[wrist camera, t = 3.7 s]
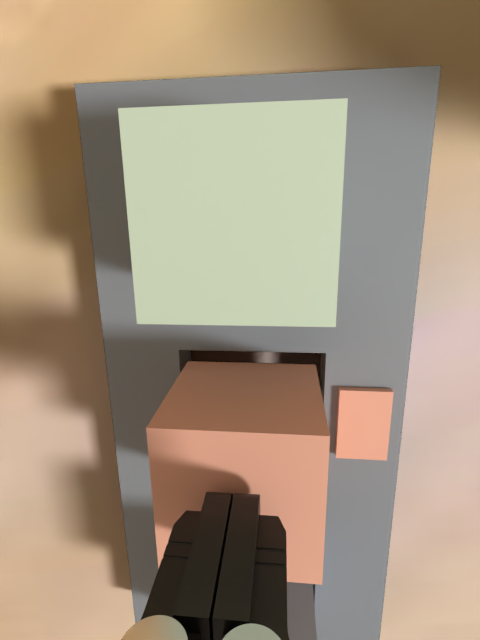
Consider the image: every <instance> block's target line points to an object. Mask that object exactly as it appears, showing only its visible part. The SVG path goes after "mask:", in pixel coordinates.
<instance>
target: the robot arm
mask: <svg viewBox="0 0 480 640" xmlns="http://www.w3.org/2000/svg"><path fill="white" fill-rule="evenodd" d="M286 550H287V549H286V530H285V528H284V526H283V524H282V522H281V520H280V518H279V516H268V515H260V494H243V493H234V496H233V493H223V492H206V495H205V498H204V502H203V505H202V509H201V511H188V510H186V511H185V512H184V513H183V515H182V516H181V517H180V518H179V519H178V520H177V521H176V522H175V524H174V525H173V528H172V531H171V534H170V537H169V540H168V544H167V546H166V549H165V552H164V554H163V559H162V560H161V563H160V566H159V569H158V572H157V575H156V578H155V581H154V584H153V586H152V589H151V592H150V595H149V598H148V601H147V604H146V607H145V610H144V613H143V615H142V617H141V620H140V621H139V622H137V623H136V624H135V625H133V626H132V627H131V628H130V629H129V630H128V631H127V632H126V634H125V635H124V636H123V638H122V640H290V639H289V635H288V628H287V553H286Z"/></svg>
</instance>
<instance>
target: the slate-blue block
mask: <svg viewBox="0 0 480 640" xmlns="http://www.w3.org/2000/svg"><path fill="white" fill-rule="evenodd" d="M287 628H288V635H289V639H290V640H317V634H316V621H315V608H314V594H313V584H307V583H295V582H287Z"/></svg>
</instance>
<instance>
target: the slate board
mask: <svg viewBox="0 0 480 640" xmlns="http://www.w3.org/2000/svg"><path fill="white" fill-rule="evenodd" d="M440 71H441V65H439V66H420V67H400V68H380V69H360V70H340V71H321V72H301V73H281V74H261V75H241V76H222V77H202V78H182V79H162V80H142V81H123V82H103V83H83V84H75V93H76V102H77V111H78V120H79V129H80V137H81V146H82V155H83V164H84V173H85V182H86V190H87V199H88V208H89V217H90V226H91V235H92V243H93V252H94V261H95V270H96V279H97V288H98V296H99V305H100V314H101V323H102V332H103V341H104V349H105V358H106V367H107V376H108V385H109V394H110V402H111V411H112V420H113V429H114V438H115V447H116V455H117V464H118V473H119V482H120V491H121V500H122V508H123V517H124V526H125V535H126V544H127V553H128V561H129V570H130V579H131V588H132V597H133V606H134V614H135V623H137V622H139V621H140V620H141V617H142V615H143V613H144V610H145V607H146V604H147V601H148V598H149V595H150V592H151V589H152V586H153V584H154V581H155V578H156V575H157V572H158V569H159V568H158V557H157V546H156V534H155V523H154V512H153V500H152V489H151V478H150V466H149V455H148V444H147V432H146V427H147V426H148V424H149V423H150V421H151V419H152V418H153V416H154V415H155V413H156V411H157V410H158V408H159V407H160V405H161V403H162V402H163V400H164V399H165V397H166V395H167V394H168V392H169V391H170V389H171V387H172V386H173V384H174V383H175V381H176V379H177V378H178V376H179V375H180V373H181V371H182V370H183V368H184V367H185V365H186V363H187V362H188V361H191V350H210V351H253V352H297V353H321V361H320V389H321V394H322V399H323V403H324V408H325V413H326V418H327V423H328V428H329V433H330V447H329V466H328V486H327V505H326V524H325V543H324V562H323V581H322V585H319V584H313V594H314V608H315V621H316V634H317V640H379V639H380V630H381V621H382V611H383V602H384V593H385V583H386V574H387V565H388V555H389V546H390V537H391V527H392V518H393V509H394V499H395V490H396V481H397V471H398V462H399V453H400V444H401V434H402V425H403V416H404V406H405V397H406V388H407V378H408V369H409V360H410V350H411V341H412V332H413V322H414V313H415V304H416V294H417V285H418V276H419V266H420V257H421V248H422V238H423V229H424V220H425V210H426V201H427V192H428V183H429V173H430V164H431V155H432V145H433V136H434V127H435V117H436V108H437V99H438V89H439V80H440ZM342 98H348V105H347V124H346V143H345V162H344V181H343V200H342V219H341V238H340V257H339V276H338V295H337V314H336V327H293V326H231V325H169V324H137V319H136V308H135V296H134V285H133V274H132V262H131V251H130V240H129V228H128V217H127V206H126V194H125V183H124V172H123V160H122V149H121V138H120V126H119V115H118V108H134V107H157V106H180V105H203V104H226V103H250V102H273V101H296V100H319V99H342Z"/></svg>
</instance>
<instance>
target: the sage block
mask: <svg viewBox="0 0 480 640" xmlns="http://www.w3.org/2000/svg"><path fill="white" fill-rule="evenodd" d="M347 105H348V98H342V99H319V100H296V101H273V102H250V103H226V104H203V105H180V106H157V107H134V108H118V115H119V126H120V138H121V149H122V160H123V172H124V183H125V194H126V206H127V217H128V228H129V240H130V251H131V262H132V274H133V285H134V296H135V308H136V319H137V324H169V325H231V326H293V327H336V314H337V295H338V276H339V257H340V238H341V219H342V200H343V181H344V162H345V143H346V124H347Z"/></svg>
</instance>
